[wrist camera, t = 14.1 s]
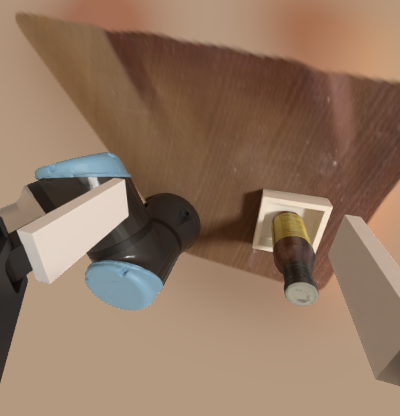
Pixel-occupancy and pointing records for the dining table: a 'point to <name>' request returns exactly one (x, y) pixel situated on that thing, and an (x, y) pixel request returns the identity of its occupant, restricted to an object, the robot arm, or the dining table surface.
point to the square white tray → (284, 201)
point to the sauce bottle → (294, 257)
